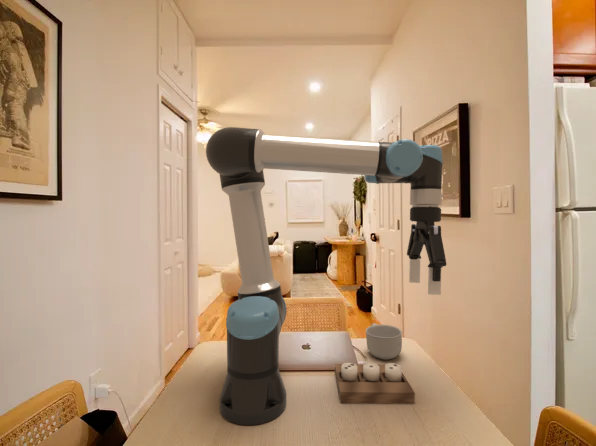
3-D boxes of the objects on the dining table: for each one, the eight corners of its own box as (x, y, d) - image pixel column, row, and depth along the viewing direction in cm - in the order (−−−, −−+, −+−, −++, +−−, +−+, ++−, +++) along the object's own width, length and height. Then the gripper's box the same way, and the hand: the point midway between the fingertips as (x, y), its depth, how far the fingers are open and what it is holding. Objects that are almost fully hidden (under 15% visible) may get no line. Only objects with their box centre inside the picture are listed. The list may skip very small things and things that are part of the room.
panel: (340, 402, 74) (340, 392, 74) (334, 373, 88) (334, 364, 88) (414, 403, 74) (414, 392, 74) (397, 373, 88) (397, 364, 88)
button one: (364, 381, 79) (364, 370, 79) (361, 373, 83) (361, 362, 83) (381, 381, 79) (381, 370, 79) (377, 373, 83) (377, 362, 83)
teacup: (406, 363, 94) (406, 336, 94) (369, 363, 94) (369, 336, 94) (393, 344, 108) (393, 320, 107) (361, 344, 108) (361, 320, 108)
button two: (387, 381, 79) (387, 370, 79) (383, 373, 83) (383, 362, 83) (403, 381, 79) (403, 370, 79) (398, 373, 83) (399, 362, 83)
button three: (342, 380, 79) (342, 369, 79) (340, 373, 83) (340, 362, 83) (358, 381, 79) (358, 370, 79) (356, 373, 83) (356, 362, 83)
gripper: (464, 205, 71) (461, 300, 71) (422, 207, 96) (420, 278, 96) (430, 204, 71) (427, 300, 71) (396, 207, 96) (395, 278, 96)
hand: (423, 288), depth 84 cm, fingers open, 13 cm apart
